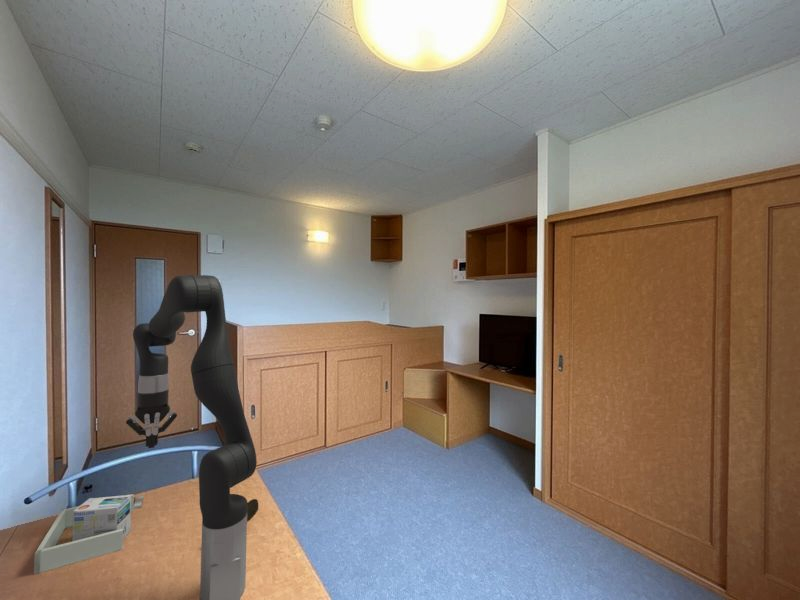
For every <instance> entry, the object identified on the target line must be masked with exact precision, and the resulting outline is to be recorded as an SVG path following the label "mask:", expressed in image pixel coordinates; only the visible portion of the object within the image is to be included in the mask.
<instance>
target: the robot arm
mask: <svg viewBox="0 0 800 600" xmlns="http://www.w3.org/2000/svg"><path fill="white" fill-rule="evenodd" d="M224 300H225V299H224V293H223V288H222V284H221V282H220V281H219V279H218V278H217V277H216V276H215V275H210V274H209V275H208V274H206V275H205V274H204V275H201V274H200V275H199V274H198V275H197V274H195V275H194V274H192V275H191V274H183V275H181V274H180V275H176V276H174V277H173V278H172V279H171V280H170V281H169V283H168V285H167V287H166V290H165V292H164V295H163V297H162V300H161V303H160V307H159V309H158V310H157V312H156V313H155V314H154V315H153V317H152V318H151V319H150V320H149V322H145V323H139V324H137V325H136V326H135V327H134V329H133V331H132V339H133V342H134V344H135V347H136V351H137V354H138V358H139V359H138V360H139V372H138V373H139V374H138V375H139V378H138V382H137V403H136V404H137V408H136V410H135V413H134V414H133V415H132V416H131V417H128V418H127V419H126V421H125V424H126V425H127V426H128V427H129V428H131V429H132V430H133V431H134V432H135V433H136V434H137V435H139V436H145V446H146V447H148V449H153V448H155V447H156V446H157V445H158V442H159V434H160V433H163V432H165V431H166V430H167V429H168V428H169V426H170V425H171V424H172V422H174V421H175V420H176V418H177V417H178V412H177V411H173V410H171V407H170V405H169V391H170V390H169V388H170V380H169V379H170V378H169V357H168V355H167V354H164V353H156V352H152V351H151V350H150V348H151V347H163V346H169V345H172V344H174V342H175V341H176V337H177V331H179V330H180V328H182V326H183V325H184V323H185V320H186V317H185V316H186V315H185V313H197V312H199V313H201V312H205V317H206V328H205V332H204V335H203V338H202V339H201V342H200V343H199V345H198V346H197V347H198V348H197V350H196V352H195V354H194V356H193V358H192V360H191V365H190V373H191V378H192V384H193V385H192V386H193V390H194V394H195V396H196V398H197V399H198V400H199V402H200V403H201V404H202V405H203V406H204V407H205V408H206V409H207V410H208V411H209V412H210V413H211V414H212V415H213V416H214V418H216V419H217V421H218V422H219V424H220V426H221V428H222V432H223V435H224V439H225V444H224V445H222V446H220V447H217V448H215V449H213V450H210V451H208V452H207V453H205V454H204V455H203V457H202V459H200V463H199V466H198V484H199V485H198V488H199V510H200V513H201V517H202V518H201V519H202V521H201V523H202V524H201V543H200V544H201V545H200V546H201V547H200V548H201V550H200V551H201V552H200V553H201V555H200V578H199V579H200V583H199V584H200V585H199V586H200V587H199V589H200V590H199V600H241V597H242V595H243V594H244V592H245V589H246V574H247V572H246V571H247V570H246V569H247V567H246V566H247V537H248V535H247V534H248V533H247V532H248V531H247V530H248V521H247V509H248V500H247V498H246V497H245V496H243V495H241V494H237V493H231V488H234V487H235V486H236V485H238V484H241V483H242V482H244V481H245V480H248V479H249V478H250V477H251V476H253V474H254V473H255V471H256V469H257V462H258V461H257V460H258V459H257V453H256V448H255V445H254V441H253V438H252V436H251V431H250V429H249V426H248V422H247V419H246V415H245V413H244V412H245V411H244V408H243V407H244V406H243V403H242V399H241V395H240V390H239V384H238V377H237V372H236V367H235V362H234V358H233V354H232V351H231V350H232V349H231V344H230V338H229V334H228V328H227V319H226V310H225V309H226V308H225V301H224ZM166 416H167V419H166V420H165V422H164V423H163V424H162V426H160V422H162V421H163V420H164V418H165V417H166ZM138 421H140V422H141V423H142V424H144V426H145V427H143V426H142V425H140V423H138ZM152 424H153V426H152ZM152 427H153V428H152ZM152 429H153V430H152Z"/></svg>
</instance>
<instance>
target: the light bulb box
mask: <svg viewBox="0 0 800 600" xmlns="http://www.w3.org/2000/svg"><path fill="white" fill-rule="evenodd" d="M131 495H132V494H125V495H124V494H121V495H115V496H103V497H90V498H88V499H87V500H85V501H84V502H82V504H80V505H78V506H79V507H78V508H77V509H75V510H74V511H73V526H71V528H72V529H71V532H72V536H71V542H73V541H76V540H80V539H84V538H88V537H92V536H96V535H100V534H104V533H108V532H111V531H115V530H119V529H123V540H124V539H125V538H126V537H127V536H128V535H129V533H131V521H132V519H131V518H132V512H131Z"/></svg>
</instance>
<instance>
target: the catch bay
mask: <svg viewBox="0 0 800 600" xmlns="http://www.w3.org/2000/svg"><path fill="white" fill-rule="evenodd" d="M134 497H135V494H131V513H133V512H134V507H133V503H134ZM79 506H80V505H78V506H73V507H69V508H64V509H61V511H60V512H59V514H58V515H57V517H56V519H55V520H54V522H53V524H52V525H51V526H50V529H49V530H48V531H47V533H46V535H45V536H44V538H43V539H42V541H41V542H40V544H39V546H38V548H37V549H36V551H35V552H34V559H33V561H34V564H33V566H34V567H33V575H36V574H40V573H45V572H48V571H51V570H54V569H59V568H61V567H65V566H68V565H72V564H76V563H79V562H83V561H86V560H90V559H93V558H96V557H100V556H103V555H108V554H111V553H115V552H119V551H122V550H123V546H124V545H123V543H124V539H123V529H119V530H115V531H111V532H108V533H104V534H100V535H96V536H92V537H88V538H84V539H80V540H76V541H73V542H72V541H69V542H64V543H62V544H58V545H57V543H58V542H59V540H60V537H61V535H62V534H63V533H64V531H65V529H66V528H72V527H73V511H74V510H75V509H77V508H78V507H79Z"/></svg>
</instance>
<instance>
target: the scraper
mask: <svg viewBox="0 0 800 600" xmlns="http://www.w3.org/2000/svg"><path fill="white" fill-rule="evenodd" d="M144 497H145V495H141V496H134V503H133V510H136V509H141V508H142V506H143V502H144Z"/></svg>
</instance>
